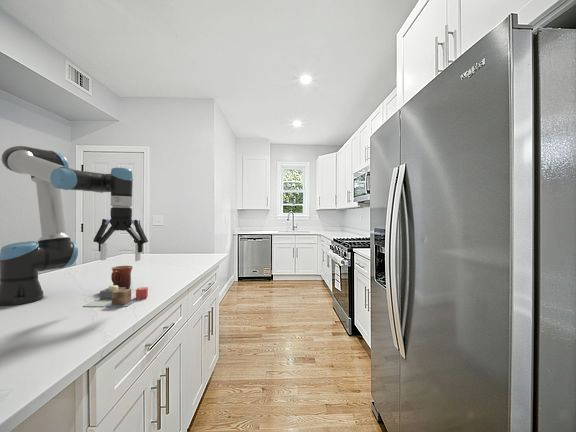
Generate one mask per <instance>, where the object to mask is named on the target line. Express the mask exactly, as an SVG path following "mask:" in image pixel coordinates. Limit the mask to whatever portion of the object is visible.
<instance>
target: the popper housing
mask: <svg viewBox="0 0 576 432" xmlns="http://www.w3.org/2000/svg"><path fill="white" fill-rule="evenodd" d="M118 289H126V287H118ZM112 292H113V291H109V287H107V288H104V289H102V290H100V293H99V300H112Z"/></svg>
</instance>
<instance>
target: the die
mask: <svg viewBox="0 0 576 432" xmlns="http://www.w3.org/2000/svg"><path fill="white" fill-rule="evenodd" d="M148 293H149V287H148V286H141V287H137V288H136V289H135V300H146V299H148V296H149V295H148Z"/></svg>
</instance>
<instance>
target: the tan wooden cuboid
mask: <svg viewBox="0 0 576 432" xmlns="http://www.w3.org/2000/svg"><path fill="white" fill-rule="evenodd" d="M131 300H132V289H131V288H129V289H118V290H115V291H113V292H112V305H126V304H128V303H129V302H131Z"/></svg>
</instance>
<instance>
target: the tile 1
mask: <svg viewBox="0 0 576 432" xmlns="http://www.w3.org/2000/svg"><path fill="white" fill-rule="evenodd" d="M110 303H112V300H100V299H94V300H93V301H91V302H89V303H86V304H84V305H82V307H83V308H85V307H86V308H90V307H91V308H104V307H105V306H106V305H108V304H110Z"/></svg>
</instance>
